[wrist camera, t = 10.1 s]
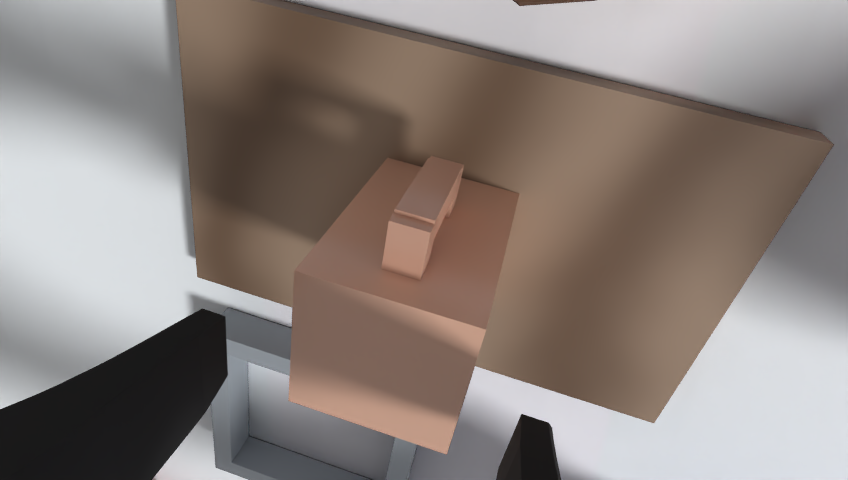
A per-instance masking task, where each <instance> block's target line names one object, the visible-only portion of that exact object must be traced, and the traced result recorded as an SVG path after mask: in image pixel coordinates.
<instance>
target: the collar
mask: <svg viewBox="0 0 848 480" xmlns="http://www.w3.org/2000/svg"><path fill="white" fill-rule="evenodd" d="M222 315H223V316H225V317H226V341H227V365H228V376H227V378H226V380H225V381H224V383H223V385H222V386H221V388H220V390H219V391H218V393H217V395H216V396H215V398H214V399H213V401H212V402H211V410H212V424H213V438H214V452H215V465H216V468H218V469H221V470H224V471H227V472H229V473H232V474H235V475H238V476H240V477H243V478H246V479H248V480H371V479H368V478H365V477H362V476H359V475H357V474H354V473H351V472H348V471H345V470H343V469H340V468H337V467H334V466H331V465H329V464H326V463H323V462H320V461H317V460H314V459H312V458H309V457H306V456H303V455H300V454H298V453H295V452H292V451H289V450H286V449H284V448H281V447H278V446H275V445H272V444H270V443H267V442H264V441H261V440H258V439H255V438H253V437H250V436H249V408H248V362H251V363H254V364H256V365H259V366H262V367H265V368H268V369H271V370H274V371H277V372H280V373H283V374H286V375H289V376H290V355H291V332H292V328H289V327H286V326H283V325H280V324H276V323H273V322H270V321H267V320H264V319H261V318H258V317H255V316H252V315H249V314H246V313H243V312H240V311H237V310H233V309H230V308H227V309H226V311H225V312H224V313H223V314H222ZM416 449H417V444H414V443H411V442H408V441H405V440H402V439H399V438H396V437H395V440H394V444H393V449H392V453H391V457H390V462H389V466H388V470H387V475H386V479H385V480H408V478H409V474H410V471H411V467H412V463H413V460H414V456H415V452H416Z"/></svg>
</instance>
